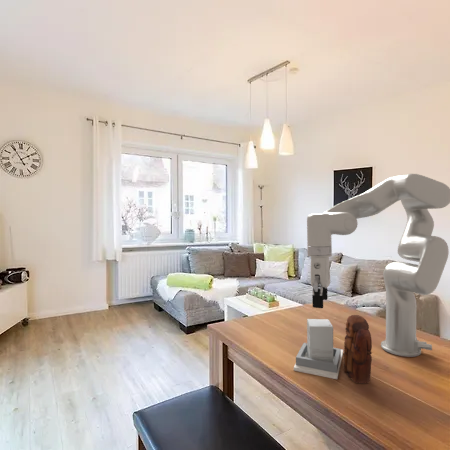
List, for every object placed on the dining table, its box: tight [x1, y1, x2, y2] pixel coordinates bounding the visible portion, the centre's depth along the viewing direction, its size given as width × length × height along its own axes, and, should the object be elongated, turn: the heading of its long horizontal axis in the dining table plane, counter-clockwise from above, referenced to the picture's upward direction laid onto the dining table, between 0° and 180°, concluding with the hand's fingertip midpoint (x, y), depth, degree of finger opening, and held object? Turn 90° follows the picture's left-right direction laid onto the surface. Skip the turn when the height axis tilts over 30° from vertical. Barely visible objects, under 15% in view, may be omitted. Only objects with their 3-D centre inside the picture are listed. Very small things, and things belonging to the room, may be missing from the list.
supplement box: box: [306, 318, 334, 362], centre depth 102 cm, size 7×7×13 cm
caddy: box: [293, 342, 344, 380], centre depth 104 cm, size 13×20×4 cm, turn 155°
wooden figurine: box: [343, 314, 373, 384], centre depth 95 cm, size 12×6×18 cm, turn 178°
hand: (320, 303), depth 102 cm, fingers open, 9 cm apart
